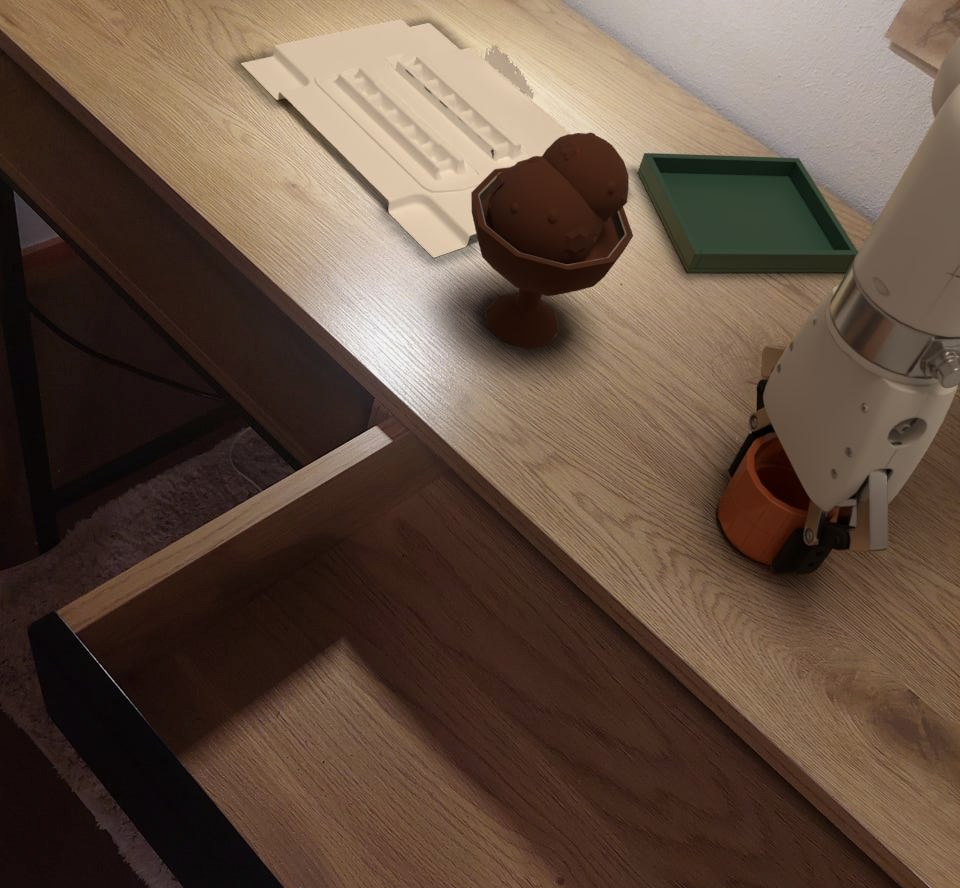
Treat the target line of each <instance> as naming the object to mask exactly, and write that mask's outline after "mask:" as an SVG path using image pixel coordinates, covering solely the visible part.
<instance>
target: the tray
mask: <svg viewBox="0 0 960 888" xmlns="http://www.w3.org/2000/svg"><path fill="white" fill-rule="evenodd" d="M500 49H501V48H500V47H499V45H497V44H493V45H491V47H490V48H486V49H485V55H484V57H483V53H481V55H480V54H479V53H478V52H477V51H476V50H475V49H473V47H466V48H462V49H460V48H459V47H458V46H456V45H455V43H453V42H452V41H450V40H449V38H447V37H446V36H445V35H444V34H443V33H442V32H441V31H439V30H438V29H437V28H436V27H435V26H433V24H432V23H430V22H426V23H422V24H417V25H413V26H409V24H407V23H406V22H405V21H404V20H403V19H401V18H399V19H394V20H389V21H384V22H380V23H375V24H371V25H366V26H365V25H364V26H361V27H360V26H359V27H356V28H351V29H346V30H342V31H337V32H331V33H327V34H323V35H322V34H321V35H318V36H313V37H308V38H307V37H306V38H303V39H298V40H293V41H290V42H285V43H284V42H283V43H279V44H276V45H275V46H274V48H273V53H272V55H271V56H268V57H263V58H257V59H254V60H249V61H245V62H241V63H240V65H241V66H242V67H243V68H244V69H245V70H246V71H247V72H248V73H249V74H250V75H251V76H252V77H253V78H254V79H255V80H256V81H257V82H258V84H260V85H261V86H262V87H263V88H264V89H265V90H266V91H267V92H268V93H269V94H270V95H271V96H272V97H273V98H274V99H275V100H276V101H279V100H283V99H284V100H285V99H286V100H287V101H288V102H289V103H290V104H291V105H292V106H293V107H294V108H295V109H296V110H297V111H298V112H299V113H300V114H301V115H302V116H303V117H304V118H305V119H306V120H307V121H308V122H309V123H310V125H312V126H313V127H314V128H315V129H316V130H317V132H318V133H320V134H321V135H322V136H323V137H324V138H325V139H326V140H327V141H328V142H329V143H330V144H331V145H332V146H333V147H334V148H335V149H336V150H337V151H338V152H339V153H340V154H341V155H342V156H343V157H344V158H345V159H346V161H348V162H349V163H350V164H351V165H352V166H353V167H354V168H355V169H356V170H357V171H358V172H359V173H360V174H361V175H362V176H363V177H364V178H365V179H366V180H367V181H368V182H369V183H370V184H371V185H372V186H373V187H374V188H375V189H376V190H377V191H378V192H379V193H380V194H381V195H382V196H383V197H384V198H385V199H386V200H387V202H388V207H387V208H388V209H387V210H388V214H389V215H390V216H391V217H392V218H393V219H394V220H395V221H396V222H397V223H398V224H399V226H401V228H403V230H404V231H406V233H408V234H409V235H410V236H411V237H412V239H413V240H415V242H417V243H418V244H419V245H420V246H421V247H422V248H423V249H424V250H425V251H426V252H427V253H428V254H429V255H430V256H431V257H432V258H433V259H434V258H438V257H440V256H443V255H446V254H448V253H452V252H455V251H458V250H460V249H464V248H466V247H467V246H468V244H469V240H470V238H471V236H473V235H477V234H476V230H475V225H474V221H473V216H472V204H471V192H472V191H473V190H474V189H475V188H476V187H477V186H478V185H479V184H480V183H481V182H482V181H483V180H484V179H485V178H486V177H487V176H488V175H489V174H490V173H491V172H492V171H493V170H494V169H500V168H507V167H511V166H514V165H515V164H516V163H517V162H520V161H523V160H526V159H530V158H531V157H534V156H543V154H544V153H545V151H546V150H547V148H549V147H550V146H551V145H552V144H553V142H554V141H556V140H557V139H558V138H560V137H562V136H565V135H568V134H571V133H570V132H569V131H568V130H567V129H566V128H565V127H563V126H562V125H561V124H560V122H558V121H557V120H555V119H554V118H553V117H552V116H551V115H550V114H548V113H547V112H546V111H545V110H544V109H543V108H541V106H540V105H538V104H537V103H535V101H534V100H533V98H534V92H533V91H534V89H532V88H533V87H532V86H531V85H529V84H528V83H527V79H526V76H524V73H523V72H522V71H521V69H520V68H519V67H518V65H515V63H514V61H512V62H511V60H510V58H509V57H508V56H509V54H507V53H505V52H501V51H500Z"/></svg>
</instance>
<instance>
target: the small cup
mask: <svg viewBox="0 0 960 888" xmlns="http://www.w3.org/2000/svg"><path fill="white" fill-rule="evenodd" d="M809 502H810V497H809V496H808V494H807V493H806V491H805V489H804V487H803V486H802V484H801V482H800V480H799V478H798V476H797V474H796V472H795V470H794V468H793V466H792V464H791V462H790V460H789V458H788V456H787V454H786V452H785V450H784V448H783V446H782V444H781V442H780V440H779V438H778V436H777V434H776V432H771V433H768V434H766V435H764V436H762V437H760V438H758V439H756V440H755V441H754V442H753V444H752V445H751V447H750V448H749V450H748V451H747V453H746V455H745V456H744V458H743V460H742V461H741V463H740V465H739V467H738V468H737V470H736V472H735V474H734V475H733V477H732V478H730V481H729V482H728V484H727V486H726V487H725V489H724V491H723V493H722V494H721V496H720V498H719V500H718V503H717V504H718V509H717V512H718V513H717V517H718V520H719V522H720V526H721V528H722V530H723V532H724V535H725V536H726V538H727V539H728V540H729V542H730V543H731V544H732V545H733V546H734V547H735V548H736V549H737V550H738V551H739V552H741V553H742V554H744V555H745V556H747V557H748V558H750V559H752V560H754V561H757V562H759V563H762V564H765V565H769V566H771V564H772V561H773V559H774V558H775V556H776V555H777V554H778V552H779V551H780V549H781V548H782V546H783V545H784V543H785V542H786V541H787V539H788V538H789V536H790V535H791V533H792V532H793V531H794V530H795V529H798V528H804V526H805V521H806V516H807V512H808V507H809ZM839 508H840V507H836V508H833V509H832V510H830V511H828V512H827V517H826V521H825V523H827V522H835V523H836V521H837V517H838V512H839Z"/></svg>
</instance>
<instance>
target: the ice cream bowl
mask: <svg viewBox="0 0 960 888" xmlns="http://www.w3.org/2000/svg"><path fill="white" fill-rule="evenodd" d="M629 177H630V176H629V173H628V169H627V166H626V163H625V161H624V159H623V158H622V156H621V155H620V154H619V152H618V151H617V149H616V148H615V147H614V145H613V144H612V143H610V142H608V141H607V140H606V139H604V138H603V137H601V136H599V135H596V134H595V133H594V132H587V133H585V132H584V133H583V132H575V133H570V134H568V135H565V136H562V137H560V138H558V139H557V140H556V141H554V142H553V144H552V145H551V146H550V147H549V148H547V150H546V151H545V153H544V154H543V156H534V157H531V158H530V159H526V160H523V161H520V162H517V163H516V164H515V165H514V166H511V167H507V168H500V169H494V170H493V171H492V172H491V173H490V174H489V175H488V176H487V177H486V178H485V179H484V180H483V181H482V182H481V183H480V184H479V185H478V186H477V187H476V188H475V189H474V190H473V191H472V192H471V204H472V216H473V221H474V225H475V230H476V234H475V235H476V239H477V242H478V246H479V251H480V253H481V257H482V258H483V259H484V261H485V262H486V263H487V264H488V265H489V266H490V267H491V268H492V269H493V270H494V271H495V272H496V273H498V274H499V275H500V276H502V277H503V278H504V279H505V280H506V281H508V282H509V283H510V284H511V285H512V286H513V287H514V288H517V289H518V290H517V291H513V292H509V293H504V294H498V295H497V297H496V298H494V300H493V301H492V302H491V304H490V305H489V306H488V308H487V309H486V310H485V311H484V312H485V317H486V321H487V327H488V329H489V330H490V331H491V332H492V333H494V335H496V336H497V337H498V338H500V339H501V340H502V341H504V343H506V344H509V345H515V346H518V347H522V348H525V349H531V348H535V347H541V346H546V345H549V344H550V343H551V342H552V340H554V338H555V337H556V335H557V334H558V333H559V323H558V319H557V316H556V312H555V309H553V307H551V306H550V305H549V304H548V303H546V302H545V301H544V300H543V299H542V297H543V296H547V297H553V296H558V295H562V294H568V293H573V292H579V291H582V290H585V289H589V288H593V287H595V286H596V285H597V284H598V283H599V282H601V280H603V279H604V278H605V277H606V276H607V274H608V273H609V272H610V270H611V269H612V268H613V266H614V265H615V263H616V262H617V261H618V260H619V258H620V257H621V255H622V254H623V253H624V252H625V250H626V249H627V246H628V245H629V243H630V242H631V240H632V239H633V237H634V234H633V231H632V229H631V225H630V223H629V222H630V221H629V219H628V217H627V214H626V211H625V208H624V206H625V205H626V204H627V203H628V197H629V196H628V195H629V190H630V189H629V186H630V185H629V179H630V178H629Z"/></svg>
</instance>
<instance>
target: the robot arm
mask: <svg viewBox="0 0 960 888" xmlns="http://www.w3.org/2000/svg"><path fill="white" fill-rule="evenodd" d="M930 97H931V108H932V114H933V117H934V119H933V121H932V123H931V125H930V127H929V128H928V130H927V132H926V134H925V135H924V137H923V139H922V140H921V142H920V144H919V146H918V148H917V149H916V151H915V153H914V154H913V156H912V158H911V160H910V162H909V163H908V165H907V167H906V169H905V170H904V172H903V174H902V175H901V177H900V179H899V180H898V183H897V184H896V186H895V188H894V189H893V191H892V193H891V195H890V197H889V198H888V200H887V202H886V203H885V205H884V207H883V208H882V210H881V212H880V214H879V215H878V217H877V219H876V220H875V222H874V224H873V226H872V228H871V229H870V231H869V233H868V235H867V237H866V238H865V240H864V242H863V243H862V245H861V247H860V248H859V250H858V254H857V255H856V257H855V258H854V260H853V262H852V264H851V265H850V267H849V269H848V271H847V272H846V273H845V274H844V276H843V277H842V279H841V281H840V283H839V284H837V285H835V286H834V287H833V288H832V289H831V290H830V291H829V292H827V294H826V295H825V296H824V297H823V298H822V299H821V300H820V302H818V304H817V305H816V306H815V308H813V310H812V311H811V312H810V314H809V315H808V317H806V319H805V320H804V321H803V323H802V324H801V326H800V327H799V328H798V330H797V331H796V332H795V334H794V335H793V337H792V338H791V340H790V341H789V342H788V345H766V346H764V347H763V349H762V354H761V365H760V377H762V378H761V379H760V380H759V381H758V382H757V385H756V387H755V389H756V408H755V409H756V411H754V412H752V413H751V414H749V415H750V416H749V417H748V428H749V430H750V431H751V432H750V433H747V436H746V438H745V439H744V441H743V442H742V445H741V446H740V448H739V450H738V451H737V452H736V455H735V457H734V458H733V460H732V462H731V464H730V466H729V467H728V469H727V473H728V475H729V477H730V479H732V477H733V475H734V474H735V472H736V470H737V468H738V467H739V465H740V463H741V461H742V460H743V458H744V456H745V455H746V453H747V451H748V450H749V448H750V447H751V445H752V444H753V442H754V441H755V440H756V439H758V438H760V437H762V436H764V435H766V434H768V433H771V432H776V434H777V436H778V438H779V440H780V442H781V444H782V446H783V448H784V450H785V452H786V454H787V456H788V458H789V460H790V462H791V464H792V466H793V468H794V470H795V472H796V474H797V476H798V478H799V480H800V482H801V484H802V486H803V487H804V489H805V491H806V493H807V494H808V496H809V497H810V502H809V507H808V512H807V516H806V521H805V526H804V528H798V529H795V530H794V531H793V532H792V533H791V535H790V536H789V538H788V539H787V541H786V542H785V543H784V545H783V546H782V548H781V549H780V551H779V552H778V554H777V555H776V556H775V558H774V559H773V561H772V564H771V565H770V568H771V570H772V572H773V574H775V575H782V574H791V573H793V574H794V573H795V574H796V575H808V574H812V573H813V572H816V571H817V570H818V569H819V568H820V566H821V565H822V564H823V562H824V561H825V560H826V558H828V556H829V554H831V552H832V551H833V550H834V551H849V552H855V553H856V552H857V553H858V552H859V553H873V552H875V553H876V552H884V551H886V550H887V549H888V547H889V543H890V542H889V541H890V540H889V504H890V503H891V502H892V501H893V500H894V499H895V497H896V496H897V495H898V494H899V492H900V491H901V490H902V488H903V487H904V486H905V485H906V483H907V481H908V480H909V479H910V477H911V476H912V474H913V473H914V472H915V469H916V468H917V467H918V465H919V463H920V462H921V460H922V459H923V457H924V456H925V454H926V452H927V451H928V449H929V447H930V446H931V444H932V442H933V441H934V439H935V437H936V435H937V433H938V432H939V430H940V427H941V426H942V424H943V422H944V420H945V419H946V416H947V414H948V412H949V409H950V408H951V405H952V403H953V400H954V397H955V394H956V392H957V390H958V387H959V385H960V35H959V36H958V37H957V38H956V40H955V42H954V43H953V44H952V45H951V47H950V49H949V50H948V52H947V54H946V55H945V56H944V58H943V60H942V62H941V64H940V65H939V69H938V71H937V73H936V76H935V78H934V82H933V86H932V91H931V96H930ZM836 507H840V508H839V512H838V517H837V521H836V523H835V522H827V523H825V521H826V517H827V512H828V511H830V510H832V509H833V508H836Z"/></svg>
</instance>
